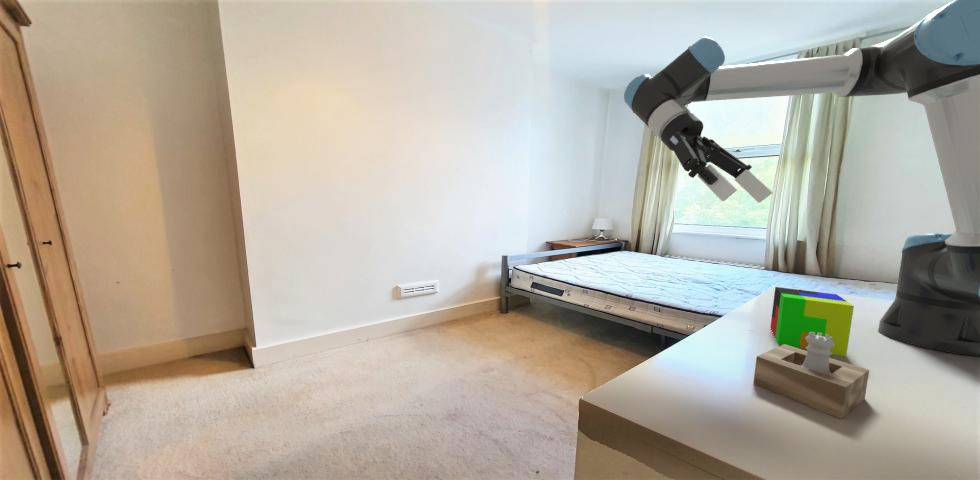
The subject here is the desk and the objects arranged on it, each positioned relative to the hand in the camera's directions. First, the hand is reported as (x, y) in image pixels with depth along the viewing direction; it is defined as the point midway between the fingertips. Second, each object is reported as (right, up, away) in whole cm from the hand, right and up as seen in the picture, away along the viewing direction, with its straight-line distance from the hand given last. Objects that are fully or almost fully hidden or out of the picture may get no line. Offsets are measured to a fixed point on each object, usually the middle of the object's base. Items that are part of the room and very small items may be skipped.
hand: (748, 196), depth 62 cm
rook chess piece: (+2, -30, -10) cm, 32 cm away
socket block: (+1, -31, -10) cm, 33 cm away
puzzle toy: (+19, -30, +9) cm, 36 cm away
